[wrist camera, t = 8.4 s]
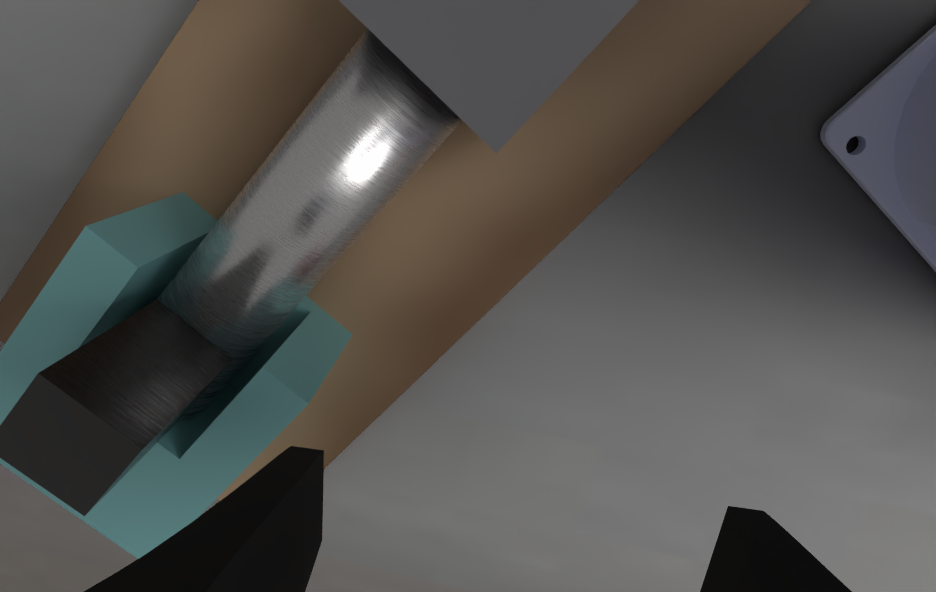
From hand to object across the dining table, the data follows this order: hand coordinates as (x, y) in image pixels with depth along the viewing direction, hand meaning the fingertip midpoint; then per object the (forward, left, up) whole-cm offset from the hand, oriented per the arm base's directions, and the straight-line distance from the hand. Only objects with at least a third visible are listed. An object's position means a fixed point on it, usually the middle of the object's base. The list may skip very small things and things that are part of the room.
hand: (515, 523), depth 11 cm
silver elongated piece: (+7, +1, -8) cm, 11 cm away
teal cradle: (+7, +8, -9) cm, 14 cm away
